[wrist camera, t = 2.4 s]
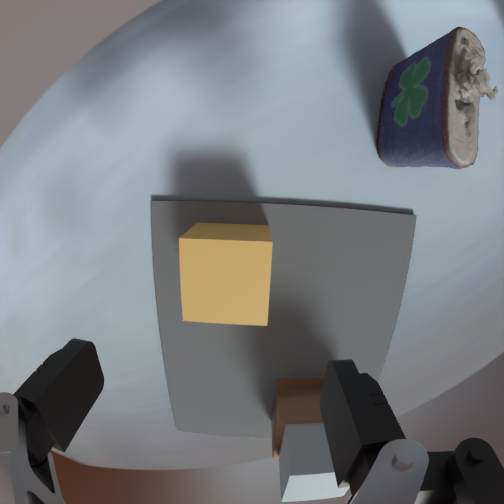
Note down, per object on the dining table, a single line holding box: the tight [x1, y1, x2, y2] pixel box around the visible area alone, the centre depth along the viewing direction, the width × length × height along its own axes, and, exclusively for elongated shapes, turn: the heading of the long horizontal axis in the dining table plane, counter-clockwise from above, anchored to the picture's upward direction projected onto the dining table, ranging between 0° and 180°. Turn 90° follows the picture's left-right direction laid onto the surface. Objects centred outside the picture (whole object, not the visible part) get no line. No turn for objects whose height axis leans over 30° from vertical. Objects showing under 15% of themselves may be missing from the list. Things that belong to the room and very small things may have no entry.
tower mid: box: [279, 422, 350, 502], centre depth 17 cm, size 5×5×5 cm
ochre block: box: [179, 223, 273, 326], centre depth 18 cm, size 5×5×5 cm
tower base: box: [271, 379, 324, 459], centre depth 22 cm, size 6×6×5 cm
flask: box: [376, 27, 498, 169], centre depth 12 cm, size 9×3×11 cm, turn 165°
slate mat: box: [151, 201, 416, 438], centre depth 23 cm, size 24×20×1 cm
